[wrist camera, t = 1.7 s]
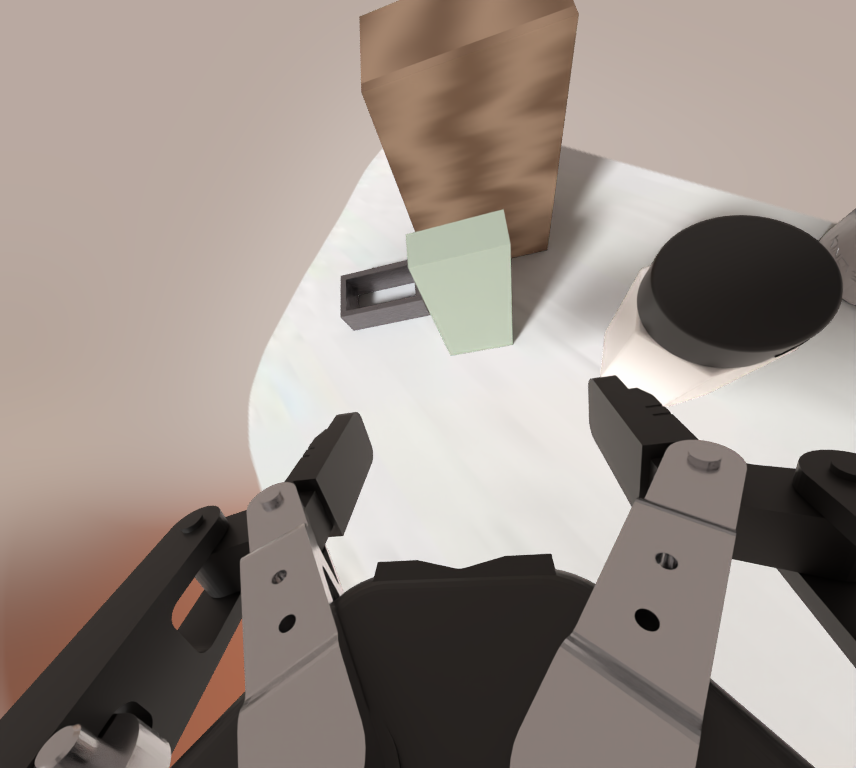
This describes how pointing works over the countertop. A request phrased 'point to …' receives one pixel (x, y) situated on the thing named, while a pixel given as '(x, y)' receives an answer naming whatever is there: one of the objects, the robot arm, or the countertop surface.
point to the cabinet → (472, 107)
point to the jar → (720, 306)
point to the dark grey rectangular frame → (384, 311)
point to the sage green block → (466, 280)
